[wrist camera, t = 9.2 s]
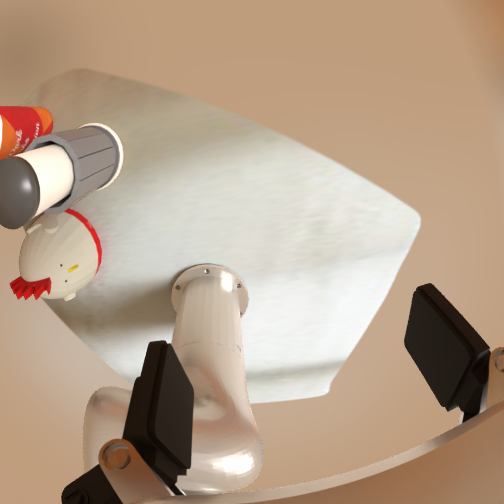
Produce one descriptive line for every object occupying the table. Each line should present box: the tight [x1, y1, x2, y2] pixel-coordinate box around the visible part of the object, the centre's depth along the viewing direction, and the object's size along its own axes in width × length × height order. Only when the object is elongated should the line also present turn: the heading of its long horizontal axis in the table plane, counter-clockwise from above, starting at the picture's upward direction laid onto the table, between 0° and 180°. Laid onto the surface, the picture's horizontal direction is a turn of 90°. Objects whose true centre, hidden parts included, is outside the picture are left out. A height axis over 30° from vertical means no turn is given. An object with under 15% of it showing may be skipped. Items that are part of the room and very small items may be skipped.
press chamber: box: [24, 123, 124, 215], centre depth 30 cm, size 10×10×12 cm
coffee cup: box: [0, 106, 53, 160], centre depth 25 cm, size 8×8×15 cm
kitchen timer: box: [10, 208, 102, 301], centre depth 35 cm, size 14×14×15 cm
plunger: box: [0, 143, 76, 229], centre depth 26 cm, size 6×6×17 cm
